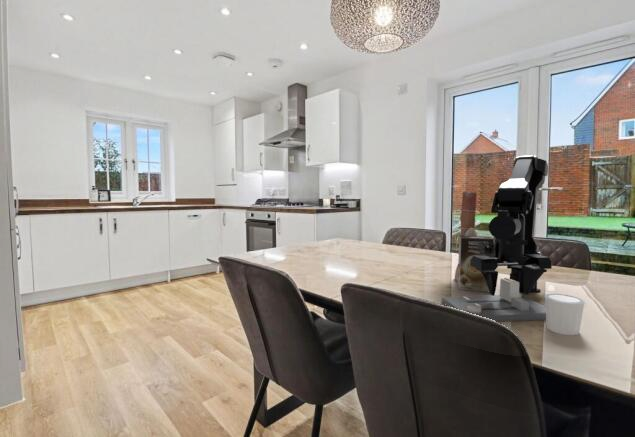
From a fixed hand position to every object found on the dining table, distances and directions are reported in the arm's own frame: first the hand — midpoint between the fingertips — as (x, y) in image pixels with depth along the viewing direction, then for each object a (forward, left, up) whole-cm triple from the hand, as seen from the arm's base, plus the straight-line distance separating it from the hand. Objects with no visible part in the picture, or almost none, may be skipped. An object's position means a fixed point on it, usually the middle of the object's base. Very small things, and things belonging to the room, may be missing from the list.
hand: (509, 294), depth 86 cm
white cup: (-2, +15, -3) cm, 16 cm away
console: (+5, +2, -3) cm, 6 cm away
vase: (-3, -27, -3) cm, 27 cm away
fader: (0, 0, -1) cm, 1 cm away
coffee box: (0, -17, -3) cm, 17 cm away
